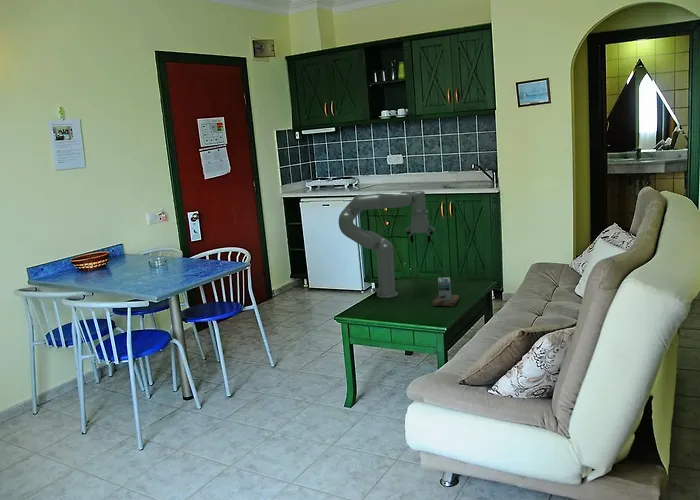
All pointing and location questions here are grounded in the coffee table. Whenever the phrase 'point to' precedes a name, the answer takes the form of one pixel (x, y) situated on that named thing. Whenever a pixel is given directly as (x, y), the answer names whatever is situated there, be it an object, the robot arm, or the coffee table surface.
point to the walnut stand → (445, 303)
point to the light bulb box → (444, 289)
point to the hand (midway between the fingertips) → (420, 242)
